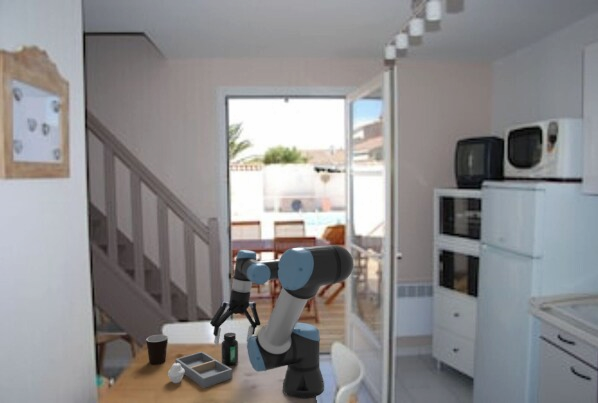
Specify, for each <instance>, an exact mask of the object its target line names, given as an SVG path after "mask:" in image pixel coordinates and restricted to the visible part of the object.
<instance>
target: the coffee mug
mask: <svg viewBox="0 0 598 403" xmlns="http://www.w3.org/2000/svg"><path fill="white" fill-rule="evenodd" d="M168 339H169V337H168V335H167V334H153V335H150V336H148V337H147V338H146V339H145V340H146V348H147V355H148V361H149V364H150V365H152V366H158V365H162V364H164V363H165V362H166V360H167V349H168V343H169V342H168V341H169V340H168Z"/></svg>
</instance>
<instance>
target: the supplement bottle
mask: <svg viewBox="0 0 598 403" xmlns="http://www.w3.org/2000/svg"><path fill="white" fill-rule="evenodd" d="M236 336H237V335H236V333H235V332H226V333H224V334H223V340H222V342H221V344H220V345H221V363H223V364H224V365H226V366H228V367H232V366H236V365H237V364H238V363H239V342H238V340H237V337H236Z"/></svg>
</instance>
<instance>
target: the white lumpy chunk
mask: <svg viewBox="0 0 598 403" xmlns="http://www.w3.org/2000/svg"><path fill="white" fill-rule="evenodd" d="M184 373H185V370H184V369H183V368H182V367H181V364H180V363H175V362H174V363H173V364H172V365H171V367H170V369H169V370H168V371H167V375H168V377H169V380H170V381H171V382H172V384H179V383H180V382H182V379H183V377H184V376H185V374H184Z"/></svg>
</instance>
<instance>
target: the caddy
mask: <svg viewBox="0 0 598 403" xmlns="http://www.w3.org/2000/svg"><path fill="white" fill-rule="evenodd" d="M174 363H180V364H181V367H182V368H183V369H184V370H185V373H184V376H186V377H187V378H189V379H190V380H192V381H194V382H195V383H196V384H197V385H199V386H200V387H202V388H203V389H205V388H208V387H210V386H214V385H217V384H219V383H222V382H225V381H228V380H231V379H233V368H231V367H230V366H226V365H224V364H223V363H222V361H219V360H217V359H216V358H214V357H213V356H211V355H210V354H208V353H206V352H205V351H198V352H196V353H192V354H189V355H184V356H182V357H178V358H175V362H174Z"/></svg>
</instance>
